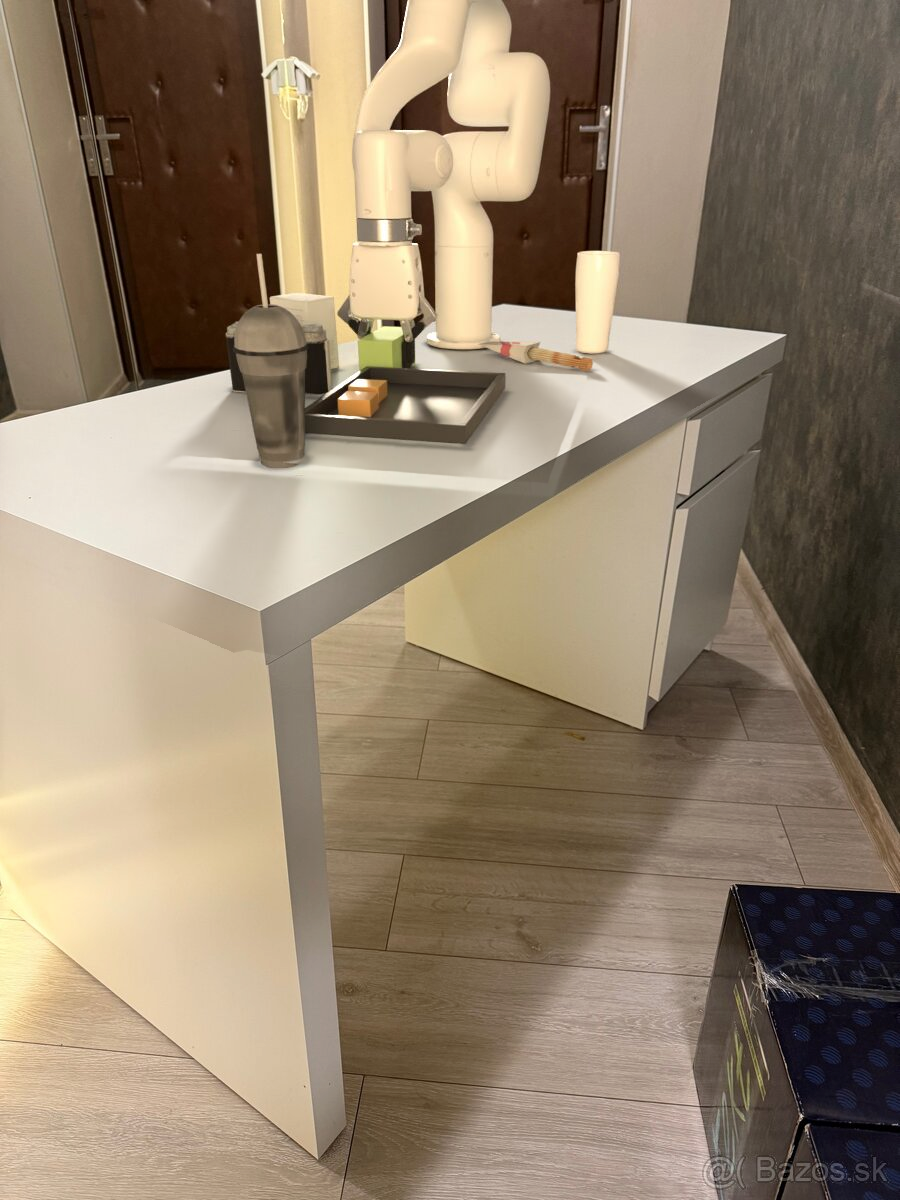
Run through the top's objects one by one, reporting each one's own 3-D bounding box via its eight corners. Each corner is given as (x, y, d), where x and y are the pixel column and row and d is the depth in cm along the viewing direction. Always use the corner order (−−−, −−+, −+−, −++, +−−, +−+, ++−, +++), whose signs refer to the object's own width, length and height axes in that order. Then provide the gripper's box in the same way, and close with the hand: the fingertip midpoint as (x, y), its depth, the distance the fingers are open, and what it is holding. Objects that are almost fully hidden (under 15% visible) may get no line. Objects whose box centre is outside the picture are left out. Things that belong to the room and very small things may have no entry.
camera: (214, 396, 110) (204, 318, 106) (241, 384, 116) (232, 310, 111) (315, 405, 106) (308, 324, 102) (337, 392, 112) (332, 315, 107)
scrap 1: (358, 394, 109) (357, 378, 108) (387, 395, 108) (387, 380, 107) (348, 401, 106) (347, 386, 105) (379, 403, 105) (378, 387, 104)
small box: (340, 370, 124) (335, 296, 119) (312, 377, 120) (306, 300, 115) (304, 363, 128) (297, 291, 123) (276, 369, 125) (268, 295, 120)
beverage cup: (254, 476, 82) (229, 260, 73) (240, 455, 88) (215, 252, 79) (325, 466, 85) (309, 256, 76) (307, 446, 91) (290, 249, 81)
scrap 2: (347, 407, 103) (346, 390, 102) (378, 408, 103) (378, 392, 102) (338, 415, 100) (337, 399, 99) (370, 417, 99) (369, 400, 98)
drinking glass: (621, 352, 135) (630, 253, 128) (590, 357, 132) (597, 255, 125) (592, 345, 140) (599, 249, 133) (562, 350, 137) (568, 252, 130)
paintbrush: (491, 331, 134) (597, 353, 124) (490, 349, 136) (595, 372, 125) (476, 335, 132) (583, 357, 121) (475, 352, 133) (581, 376, 122)
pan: (367, 384, 116) (366, 366, 115) (505, 392, 112) (505, 373, 111) (296, 437, 94) (294, 414, 93) (465, 449, 90) (465, 425, 89)
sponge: (384, 363, 128) (383, 326, 126) (415, 364, 127) (414, 327, 125) (359, 379, 118) (357, 340, 115) (393, 381, 117) (392, 341, 114)
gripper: (450, 232, 115) (450, 365, 124) (335, 230, 119) (342, 359, 127) (437, 236, 109) (438, 375, 117) (316, 233, 112) (325, 369, 121)
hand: (388, 365), depth 122 cm, fingers closed on sponge, 5 cm apart
